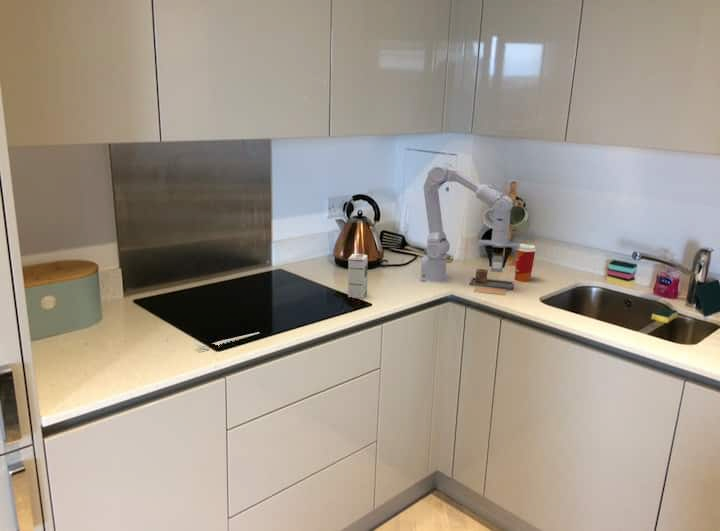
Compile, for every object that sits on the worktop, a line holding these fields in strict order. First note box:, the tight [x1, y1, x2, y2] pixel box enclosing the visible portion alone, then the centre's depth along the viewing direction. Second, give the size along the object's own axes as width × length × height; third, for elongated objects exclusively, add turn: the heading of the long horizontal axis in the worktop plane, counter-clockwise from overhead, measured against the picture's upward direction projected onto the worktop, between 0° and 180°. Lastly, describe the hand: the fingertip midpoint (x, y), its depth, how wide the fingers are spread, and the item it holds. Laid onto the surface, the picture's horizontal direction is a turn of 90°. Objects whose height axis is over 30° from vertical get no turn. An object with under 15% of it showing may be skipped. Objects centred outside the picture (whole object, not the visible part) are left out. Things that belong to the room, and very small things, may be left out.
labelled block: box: [490, 255, 504, 273], centre depth 216 cm, size 4×4×5 cm
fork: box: [195, 331, 260, 351], centre depth 167 cm, size 3×20×2 cm, turn 134°
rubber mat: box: [473, 286, 507, 297], centre depth 216 cm, size 11×7×1 cm, turn 74°
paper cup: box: [514, 243, 537, 283], centre depth 228 cm, size 8×8×14 cm
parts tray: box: [469, 276, 514, 291], centre depth 223 cm, size 16×8×1 cm, turn 74°
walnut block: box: [474, 268, 489, 284], centre depth 224 cm, size 4×4×5 cm
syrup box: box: [347, 253, 369, 300], centre depth 206 cm, size 6×6×14 cm
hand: (497, 266), depth 216 cm, fingers closed on labelled block, 4 cm apart
